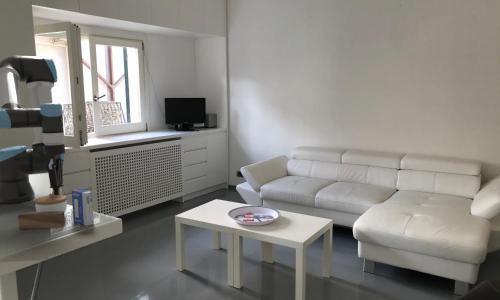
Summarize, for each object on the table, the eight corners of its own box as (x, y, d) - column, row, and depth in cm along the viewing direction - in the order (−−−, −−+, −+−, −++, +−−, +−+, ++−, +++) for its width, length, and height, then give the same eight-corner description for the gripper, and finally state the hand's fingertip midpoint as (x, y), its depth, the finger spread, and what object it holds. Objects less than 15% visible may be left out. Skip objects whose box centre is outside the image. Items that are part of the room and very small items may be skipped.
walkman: (73, 222, 145) (71, 189, 144) (80, 220, 147) (78, 188, 146) (87, 225, 141) (85, 192, 139) (94, 223, 143) (92, 191, 142)
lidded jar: (74, 216, 152) (72, 192, 150) (47, 224, 143) (45, 198, 141) (56, 212, 157) (55, 189, 156) (29, 220, 148) (27, 195, 147)
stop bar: (22, 226, 140) (21, 212, 140) (65, 224, 142) (64, 211, 142) (19, 229, 137) (18, 215, 137) (62, 227, 139) (61, 213, 139)
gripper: (48, 142, 159) (53, 200, 162) (37, 146, 147) (42, 208, 150) (68, 141, 160) (72, 199, 164) (59, 145, 148) (63, 207, 151)
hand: (58, 203), depth 157 cm, fingers closed
